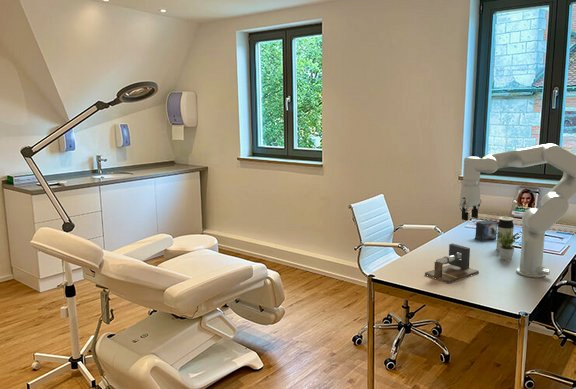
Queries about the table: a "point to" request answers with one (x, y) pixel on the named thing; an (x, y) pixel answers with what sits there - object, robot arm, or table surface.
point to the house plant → (507, 245)
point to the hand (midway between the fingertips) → (469, 218)
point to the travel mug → (504, 228)
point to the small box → (486, 230)
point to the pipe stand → (450, 270)
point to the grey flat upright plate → (464, 257)
